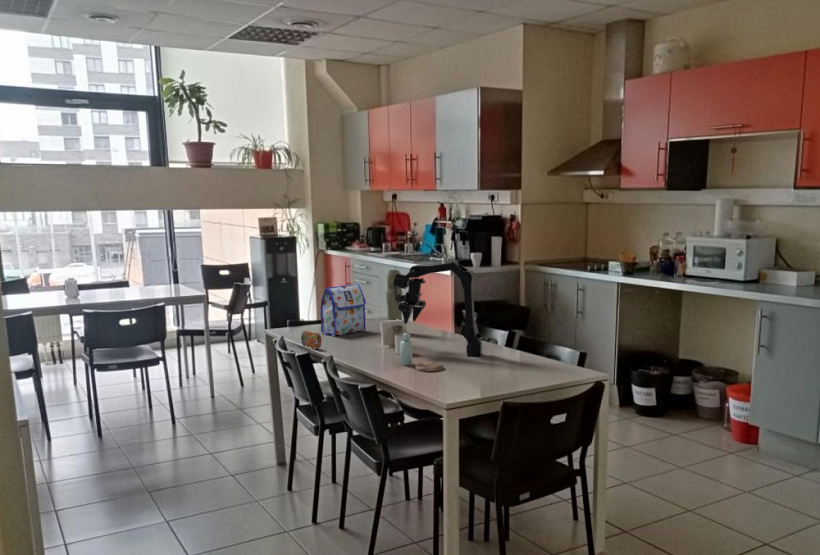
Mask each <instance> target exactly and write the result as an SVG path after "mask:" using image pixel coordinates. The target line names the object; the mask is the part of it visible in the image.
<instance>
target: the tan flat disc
mask: <svg viewBox="0 0 820 555" xmlns="http://www.w3.org/2000/svg"><path fill="white" fill-rule="evenodd" d="M416 369H417V370H416ZM442 369H443V370H444V365H443V364H442V363H440V362H421V363H418V364H416V365H415V370H416V371H418V370H420V371H419V372H421V371H437V372H440V371H439V370H441V371H443V370H442Z"/></svg>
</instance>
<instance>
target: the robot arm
mask: <svg viewBox="0 0 820 555" xmlns="http://www.w3.org/2000/svg"><path fill="white" fill-rule="evenodd" d="M448 271H452V272H453V274H455V276H456V277H457V278H459V280H460V284H461V287H462V290H463V293H464V294H463V298H464V300H463V301H464V314H465V315H464V316H465V321H464V322H463V324H461V334H462V336H463V338H464V339H465V340H466V342H467V345H466V357H475V356H476V357H478V358H479V357H480V356H481V355H482V354H483V355H484V353H483V342H482V341H483V339H484V336H483V335H482V334H481V333H480V332H479V328H478V324H477V322H476V319H475V318H476V317H475V303H474V302H475V301H474V287H475V284H476V273H475V272H474V271H472V270H471V269H470V270H469V269H467V268H466V267H464V266H463V265H461V264H460V263H459V262H458V261H451V262H446V263H438V264H437V263H436V264H432V265H430V264H429V265H428V264H415V265H412V266H411V267H410V268H409V271H408V272H407V274H402V273H400V274H399V273H397V274H396V277H395V279H394V281H393V286H394V287H397V288H401V290H403V289H404V290H406V289H407V288H408V290H407V291H406V292H405V294H402V295H401V294H397V295H396V297H395V300H396V301H397V303H399V302H402V303H400V304H399V305H398V309H399V310H400V311H401V312H402V318H403V324H405V325H406V324H408V322H409V320H410V318H411V315H412V321H413V322H416V320H417V319H418V317H419V316H420V314H421V313H422V311H423V309H425V307H426V306H427V305H426V304H427V303H426V301H425V300H422V299H420V297H421V296H422V293H421V288H422V287H421V286H422V284H425V283H426V280H425V279H424V277H422V276H425V275H429V274H434V273H442V272H448ZM419 277H421V278H419ZM412 278H414V279H412ZM483 355H482V356H483ZM482 356H481V357H482Z"/></svg>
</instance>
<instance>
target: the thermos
mask: <svg viewBox="0 0 820 555" xmlns="http://www.w3.org/2000/svg"><path fill="white" fill-rule="evenodd" d="M397 273H399V274H401V272H400V270H398V269H390V270H388V272H387V276H386V280H387V281H386V282H387V283H386V284H387V288H386V289H387V290H386V292H385V293H386V294H385V295H386V296H385V298H386V301H385V302H386V305H387V307H386V308H387V309H386V310H387V320H396V319H399V320H402V321H403V319H402V318H403V313H402V312H401V311H400V310H399V309H398V305H399V304H400V303H403V302H399V303H397V301H396V300H395V297H396V295H397V294H401V295H403V289H402V288H397V287H394V286H393V281H394V279H395V277H396V274H397ZM387 320H386V321H387Z"/></svg>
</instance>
